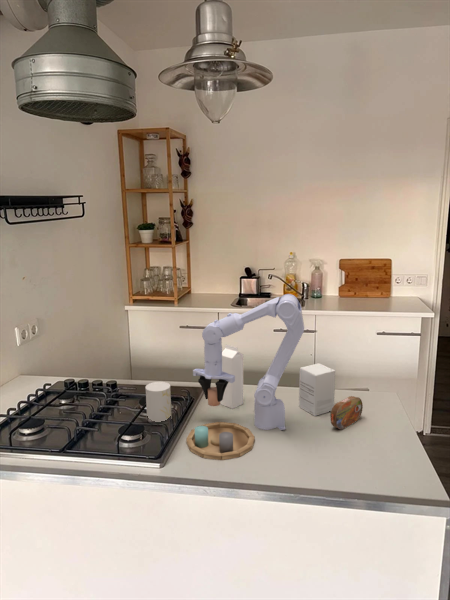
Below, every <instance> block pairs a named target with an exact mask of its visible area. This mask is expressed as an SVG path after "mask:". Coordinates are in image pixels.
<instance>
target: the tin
mask: <svg viewBox="0 0 450 600" xmlns="http://www.w3.org/2000/svg"><path fill="white" fill-rule="evenodd" d="M362 412H363V400H362V399H361V398H360V397H357V396H352V395H351V396H348V397H345V398H344V399H341V400H340V401H338V402H336V403H334V406H333V408H332V410H331V411H330V423H331V426H333V427H334V428H336V429H339V430H344V429H345V427H346V428H348V427H349V426H351V425H352V423H353V424H354V423H356V422H357V421H358V420H360V418H361V417H362V416H361V415H362ZM355 421H356V422H355ZM347 426H348V427H347ZM343 428H344V429H343Z"/></svg>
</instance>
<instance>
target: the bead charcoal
mask: <svg viewBox="0 0 450 600" xmlns="http://www.w3.org/2000/svg"><path fill="white" fill-rule="evenodd" d="M219 451H220V453H226V452H232V451H233V434H232V433H230V432H222V433H220V434H219Z"/></svg>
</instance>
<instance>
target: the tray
mask: <svg viewBox="0 0 450 600" xmlns="http://www.w3.org/2000/svg"><path fill="white" fill-rule="evenodd" d="M200 426H206V427H208V446H207V447H204V448H199V447H196V446H195V428H193V429H191V430H190V432H189V433H188V435H187V436H186V441H185V442H186V444H187V447H188V449H189V452H191V453H192V454H194V455H197V456H198V457H200V458H202V459H208V460H209V459H210V460H217V461H223V460H231V459H235V458H241V457H242V456H243V455H245V454H247V453H248V452H251V451H252V450H253V447H254V445H255V441H256V438H255V435H254V434H253V432H252V431H251V429H250V428H248V427H245V425H244V426H243V425H242V424H239V423H235V422H228V421H227V422H225V421H217V422H216V421H214V422H210V423H204V424H201V425H200ZM222 432H230V433H232V434H233V451H232V452H226V453H220V451H219V434H220V433H222Z"/></svg>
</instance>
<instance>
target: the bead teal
mask: <svg viewBox="0 0 450 600" xmlns="http://www.w3.org/2000/svg"><path fill="white" fill-rule="evenodd" d="M194 429H195V446H196V447H199V448H204V447H207V446H208V427H206V426H201V425H198V426H195V428H194Z"/></svg>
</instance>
